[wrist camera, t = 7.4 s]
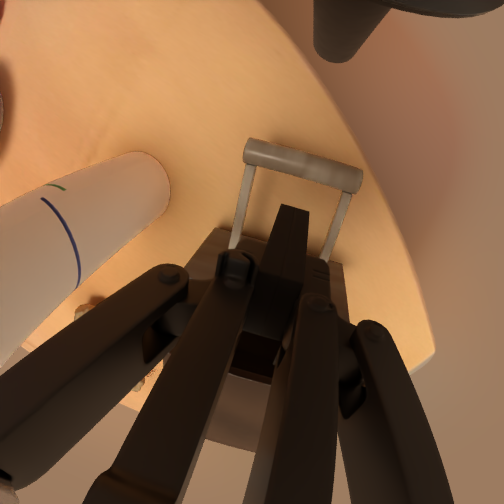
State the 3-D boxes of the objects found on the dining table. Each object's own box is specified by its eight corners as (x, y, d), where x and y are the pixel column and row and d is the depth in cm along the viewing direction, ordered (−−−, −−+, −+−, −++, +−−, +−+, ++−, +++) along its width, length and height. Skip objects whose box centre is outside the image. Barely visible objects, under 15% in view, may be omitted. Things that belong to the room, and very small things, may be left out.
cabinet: (202, 284, 29) (162, 350, 21) (321, 318, 28) (318, 396, 20) (191, 368, 36) (165, 425, 28) (281, 394, 36) (270, 456, 27)
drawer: (234, 125, 21) (196, 134, 14) (378, 167, 20) (409, 195, 13) (198, 334, 32) (173, 386, 25) (295, 362, 31) (287, 420, 24)
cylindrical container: (149, 236, 28) (-34, 439, 6) (100, 194, 27) (-100, 345, 5) (184, 181, 24) (-76, 413, 3) (127, 137, 23) (-141, 273, 2)
